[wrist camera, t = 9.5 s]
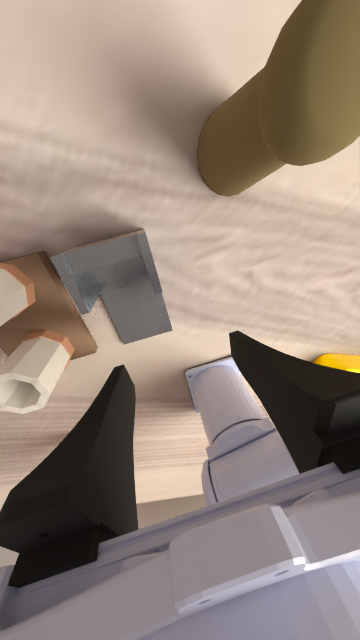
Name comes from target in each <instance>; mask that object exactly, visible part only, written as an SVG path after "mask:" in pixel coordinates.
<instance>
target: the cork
mask: <svg viewBox="0 0 360 640" xmlns="http://www.w3.org/2000/svg"><path fill="white" fill-rule="evenodd" d="M359 136H360V0H302V1H301V2H300V4H299V5H298V6H297V8H296V9H295V10H294V12H293V13H292V14H291V16H290V17H289V19H288V20H287V22H286V23H285V24H284V26H283V27H282V29H281V31H280V34H279V36H278V38H277V40H276V43H275V45H274V47H273V49H272V52H271V54H270V56H269V58H268V61H267V63H266V65H265V67H264V68H263V69H262V70H261V71H259V72H258V73H257V74H256V75H255V76H254V77H253V78H252V79H250V80H249V81H248V82H247V83H246V84H245V85H244V86H242V87H241V88H240V89H239V90H238V91H237V92H236V93H234V94H233V95H232V96H231V97H230V98H229V99H228V100H227V101H225V102H224V103H223V104H222V105H221V106H220V107H219V108H217V109H216V110H215V111H214V112H213V113H212V114H211V116H210V117H209V118H208V120H207V121H206V122H205V124H204V126H203V129H202V131H201V134H200V137H199V142H198V149H197V158H198V167H199V170H200V173H201V175H202V178H203V180H204V182H205V183H206V184H207V186H208V187H209V188H210V189H211V190H213V191H214V192H216V193H217V194H219V195H224V196H232V195H237V194H239V193H241V192H242V191H244V190H246V189H247V188H249V187H250V186H252V185H254V184H255V183H257V182H258V181H260V180H261V179H263V178H265V177H266V176H268V175H269V174H271V173H272V172H274V171H276V170H277V169H279V168H280V167H282V166H284V165H285V164H291V165H298V166H303V165H308V164H313V163H317V162H320V161H323V160H326V159H328V158H330V157H331V156H333V155H334V154H336V153H338V152H339V151H341V150H343V149H344V148H346V147H347V146H349V145H350V144H352V143H353V142H354V141H355V140H356V139H357V138H358V137H359Z"/></svg>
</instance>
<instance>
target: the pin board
mask: <svg viewBox="0 0 360 640" xmlns="http://www.w3.org/2000/svg"><path fill="white" fill-rule="evenodd" d="M1 263H4V264H11V265H14V266H15V267H17V268H18V269H19V270H20V271H21V272H22V273H23V274H25V275H26V276H27V277H28V278H29V279H30V280H31V281H33V284H34V292H35V299H36V301H35V302H34V303H33V304H31V305H30V306H29V307H27V308H26V309H25V310H24V311H22V312H21V313H20V314H18V315H17V316H16V317H14V318H11V319H10V320H8V321H7V322H6V323H4V324H3V325H2V326H0V347H1V348H2V349H3V351H4V352H5V353H6V354H7V355H8V356H10V355H11V354H12V353H13V352H14V351H15V349H16V348H17V347H18V346H19V345H20V344H21V342H22V341H23V340H24V339H25V338H26V337H27V336H28V335H29V334H32V333H36V332H39V331H43V330H50V331H53V332H56V333H58V334H61V335H64V336H66V337H67V338H68V340H69V342H70V343H71V345H72V346H73V348H74V349H75V350H74V352H73V354H72V356H71V358H70V360H73V359H76V358H80V357H83V356H87V355H90V354H93V353H96V350H97V347H98V346H97V345H96V343H95V341H94V339H93V337H92V336H91V334H90V332H89V330H88V329H87V327H86V325H85V323H84V321H83V320H82V318H81V316H80V314H79V313H78V311H77V309H76V307H75V305H74V304H73V302H72V300H71V298H70V297H69V295H68V293H67V291H66V289H65V288H64V286H63V284H62V282H61V281H60V279H59V277H58V275H57V273H56V272H55V270H54V268H53V266H52V265H51V263H50V261H49V259H48V257H47V256H46V254H45V252H44V251H43V252H39V253H35V254H31V255H27V256H24V257H20V258H16V259H12V260H8V261H4V262H1Z"/></svg>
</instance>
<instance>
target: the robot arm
mask: <svg viewBox="0 0 360 640" xmlns="http://www.w3.org/2000/svg"><path fill="white" fill-rule="evenodd" d="M229 337H230V346H231V355H232V357H228V358H225V359H222V360H218V361H215V362H212V363H209V364H205V365H202V366H199V367H196V368H192V369H189V370H186V372H185V375H186V378H187V382H188V385H189V389H190V392H191V395H192V399H193V402H194V406H195V409H196V412H197V413H200V415H201V419H202V422H203V425H204V429H205V432H206V435H207V438H208V442H209V445H210V446H209V447H207V448H206V451H207V455H208V458H209V459H208V460H206V461H204V463H203V469H202V475H201V478H202V487H203V492H204V496H205V500H206V503H207V506H205V507H203V508H200V509H197V510H194V511H191V512H188V513H185V514H182V515H179V516H177V517H174V518H171V519H168V520H165V521H162V522H160V523H156V524H153V525H151V526H148V527H145V528H142V529H139V530H138V519H137V510H136V509H137V508H136V495H135V481H134V460H133V432H134V417H135V386H134V384H133V382H132V380H131V378H130V376H129V374H128V372H127V370H126V368H125V366H124V365H121V366H117V367H115V368H114V369H113V371H112V373H111V374H110V376H109V378H108V379H107V381H106V383H105V384H104V386H103V388H102V389H101V391H100V392H99V394H98V396H97V397H96V399H95V400H94V402H93V403H92V405H91V406H90V408H89V409H88V410H87V412H86V413H85V414H84V416H83V417H82V418H81V420H80V421H79V422H78V423H77V425H76V426H75V427H74V428H73V429H72V431H71V432H70V433H69V434H68V435H67V436H66V437H65V438H64V440H63V441H62V442H61V443H60V444H59V445H58V446H57V447H56V448H55V449H54V450H53V451H52V452H51V453H50V454H49V455H48V456H47V457H46V458H45V459H44V460H43V461H42V462H41V463H40V464H39V465H38V466H37V467H36V468H35V469H34V470H33V471H32V472H31V473H30V474H29V475H27V476H26V477H25V478H24V479H23V480H22V481H21V482H20V483H19V484H17V485H16V486H15V487H14V488H13V489H12V490H11V491H10V493H9V495H8V497H7V499H6V501H5V503H4V505H3V507H2V509H1V511H0V546H1V547H4V548H7V549H9V550H12V551H15V552H18V553H19V556H18V558H17V561H16V564H15V565H8V566H4V567H0V640H360V373H359V372H353V371H347V370H342V369H337V368H332V367H328V366H324V365H319V364H316V363H312V362H309V361H305V360H302V359H299V358H296V357H293V356H290V355H287V354H285V353H282V352H280V351H277V350H275V349H273V348H270V347H268V346H266V345H264V344H262V343H260V342H258V341H256V340H254V339H252V338H251V337H249V336H247V335H245V334H243V333H241V332H239V331H235V332H231V333H229ZM241 373H242V375H243V376H244V378H245V379H246V381H247V382H248V383H249V385H250V386H251V388H252V389H253V390H254V392H255V393H256V395H257V396H258V398H259V399H260V401H261V402H262V404H263V406H264V407H265V409H266V411H267V413H268V414H269V416H270V418H271V420H272V421H273V423H274V425H275V427H276V428H275V427H274V425H273V424H272V422H271V420H270V419H269V418H268V417H267V418H266V416H265V415H264V413H263V412H262V410H261V408H260V407H259V405H258V404H257V402H256V401H255V399H254V397H253V396H252V394H251V393H250V391H249V390H248V388H247V386H246V385H245V383H244V382H243V380H242V378H241ZM189 375H190V376H189ZM276 429H277V430H276Z"/></svg>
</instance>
